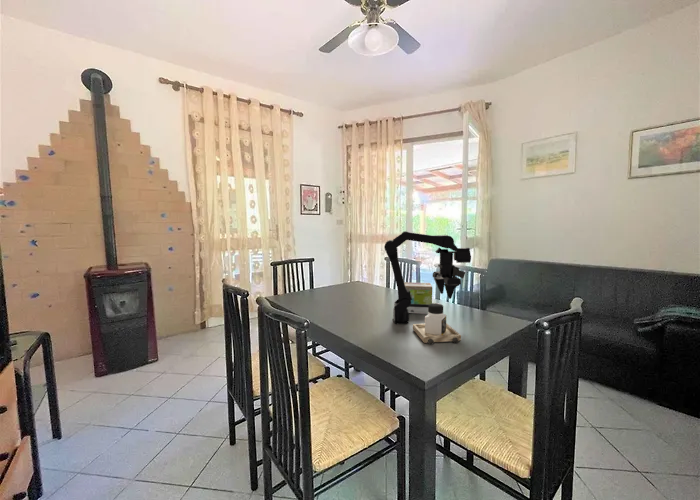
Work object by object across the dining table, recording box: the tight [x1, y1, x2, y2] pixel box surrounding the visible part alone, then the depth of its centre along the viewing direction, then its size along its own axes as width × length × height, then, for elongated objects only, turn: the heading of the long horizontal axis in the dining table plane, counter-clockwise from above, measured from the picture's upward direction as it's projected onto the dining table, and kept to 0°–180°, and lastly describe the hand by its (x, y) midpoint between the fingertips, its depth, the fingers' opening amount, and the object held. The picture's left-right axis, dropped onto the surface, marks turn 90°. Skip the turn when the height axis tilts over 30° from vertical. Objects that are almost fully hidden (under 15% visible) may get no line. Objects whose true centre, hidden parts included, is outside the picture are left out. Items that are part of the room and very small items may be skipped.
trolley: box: [412, 322, 462, 345], centre depth 126 cm, size 15×17×3 cm
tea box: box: [404, 281, 433, 315], centre depth 160 cm, size 15×10×15 cm, turn 82°
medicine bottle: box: [424, 302, 447, 336], centre depth 126 cm, size 7×7×12 cm
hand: (445, 296), depth 140 cm, fingers open, 9 cm apart
